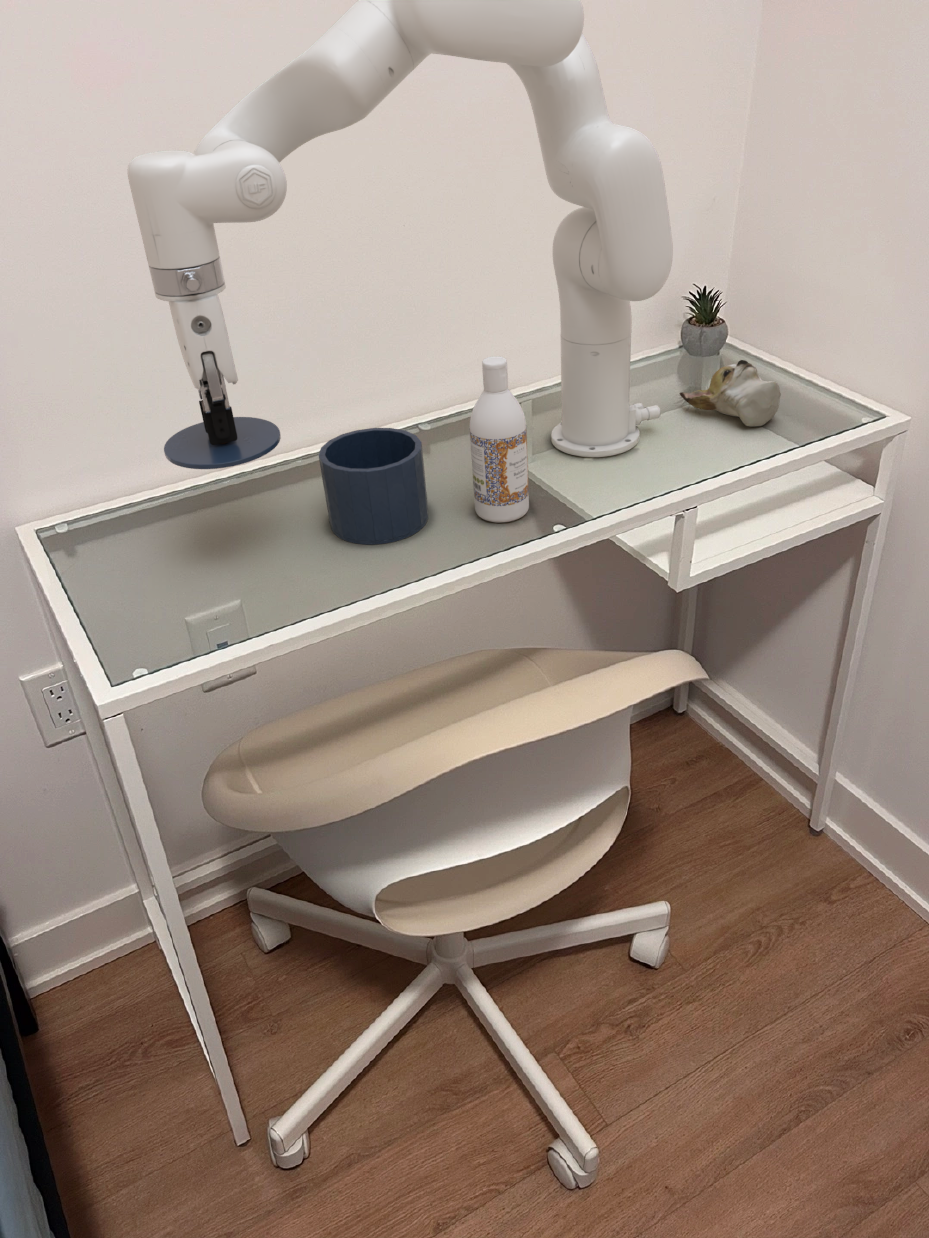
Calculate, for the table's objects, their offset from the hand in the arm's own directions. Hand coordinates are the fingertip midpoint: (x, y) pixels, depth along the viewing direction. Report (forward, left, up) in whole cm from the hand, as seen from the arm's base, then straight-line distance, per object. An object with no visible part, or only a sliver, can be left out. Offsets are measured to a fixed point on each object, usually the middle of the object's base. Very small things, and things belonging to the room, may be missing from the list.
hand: (221, 435), depth 118 cm
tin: (-17, +2, -15) cm, 23 cm away
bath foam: (-32, +7, -15) cm, 36 cm away
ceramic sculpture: (-74, -5, -15) cm, 76 cm away
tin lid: (0, 0, -1) cm, 1 cm away
